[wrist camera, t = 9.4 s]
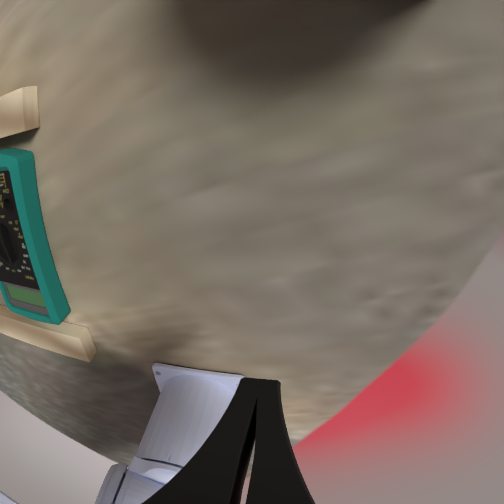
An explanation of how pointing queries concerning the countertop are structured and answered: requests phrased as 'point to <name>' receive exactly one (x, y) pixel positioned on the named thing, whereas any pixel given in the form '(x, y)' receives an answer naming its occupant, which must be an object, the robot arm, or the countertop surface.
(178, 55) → the countertop surface
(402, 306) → the countertop surface
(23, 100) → the notched board
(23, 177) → the digital multimeter
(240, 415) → the robot arm
